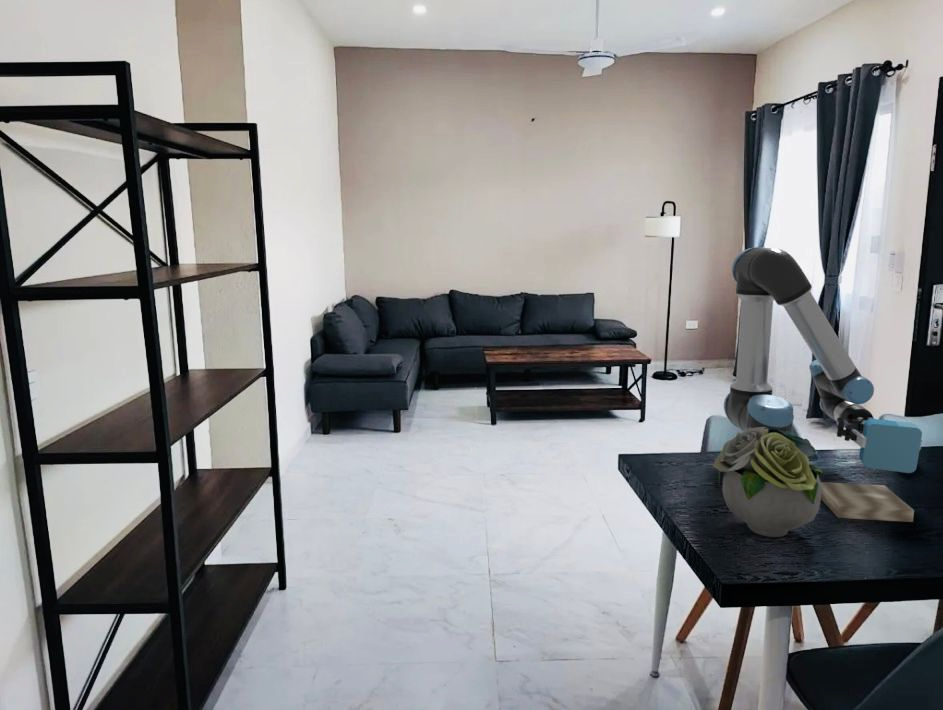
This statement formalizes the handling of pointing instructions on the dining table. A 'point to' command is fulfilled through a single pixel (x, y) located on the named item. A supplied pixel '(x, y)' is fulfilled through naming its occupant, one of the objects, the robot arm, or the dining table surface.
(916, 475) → the dining table surface
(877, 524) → the dining table surface
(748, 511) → the flower arrangement
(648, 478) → the dining table surface
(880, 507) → the birch board
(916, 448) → the data package
